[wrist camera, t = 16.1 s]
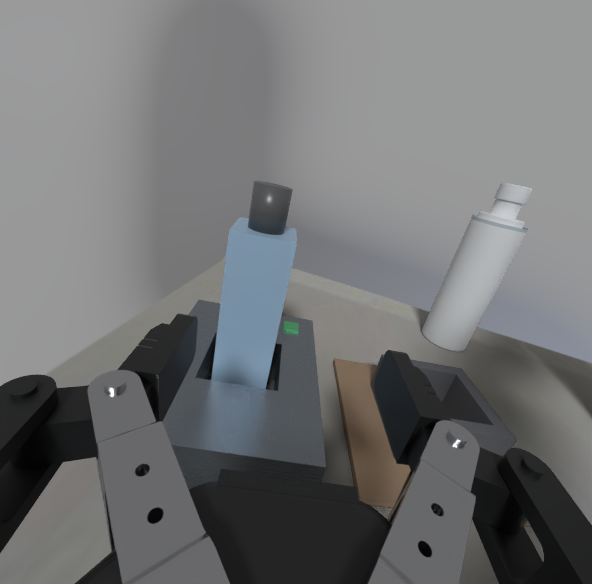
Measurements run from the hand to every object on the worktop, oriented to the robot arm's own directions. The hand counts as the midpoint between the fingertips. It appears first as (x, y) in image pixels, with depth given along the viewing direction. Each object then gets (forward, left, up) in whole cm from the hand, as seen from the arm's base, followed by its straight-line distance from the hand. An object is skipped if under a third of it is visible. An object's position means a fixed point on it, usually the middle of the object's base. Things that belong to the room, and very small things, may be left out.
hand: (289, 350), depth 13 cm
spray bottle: (-40, +3, -14) cm, 43 cm away
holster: (-18, +6, -14) cm, 23 cm away
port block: (-7, -9, -14) cm, 18 cm away
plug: (-7, -9, -14) cm, 18 cm away
